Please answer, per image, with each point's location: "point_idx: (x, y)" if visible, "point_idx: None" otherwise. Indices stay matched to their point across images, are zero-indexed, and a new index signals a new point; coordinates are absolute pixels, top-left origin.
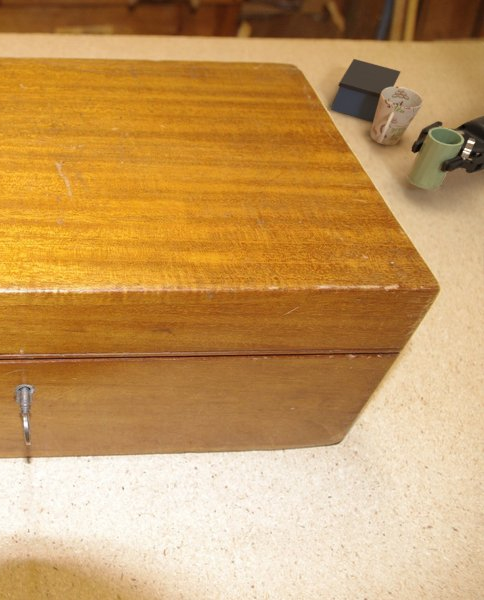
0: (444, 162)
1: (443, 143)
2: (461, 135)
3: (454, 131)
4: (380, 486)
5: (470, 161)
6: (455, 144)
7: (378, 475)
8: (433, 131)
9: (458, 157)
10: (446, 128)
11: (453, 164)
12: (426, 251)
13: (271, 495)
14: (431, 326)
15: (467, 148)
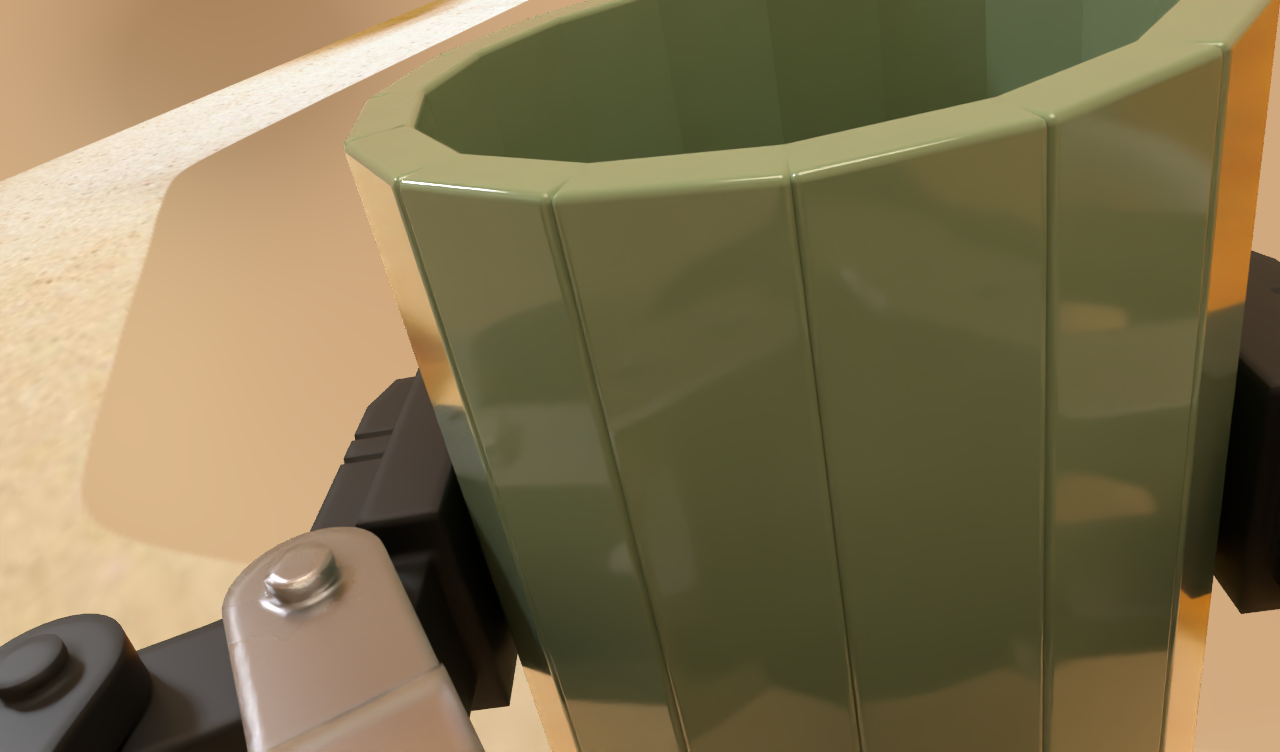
0: None
1: (600, 2)
2: (596, 185)
3: (903, 125)
4: (77, 195)
5: (156, 698)
6: (438, 69)
7: (88, 197)
8: (1135, 14)
9: (404, 496)
10: (1162, 50)
11: (386, 413)
12: None
13: (238, 117)
14: (92, 381)
15: (376, 730)
